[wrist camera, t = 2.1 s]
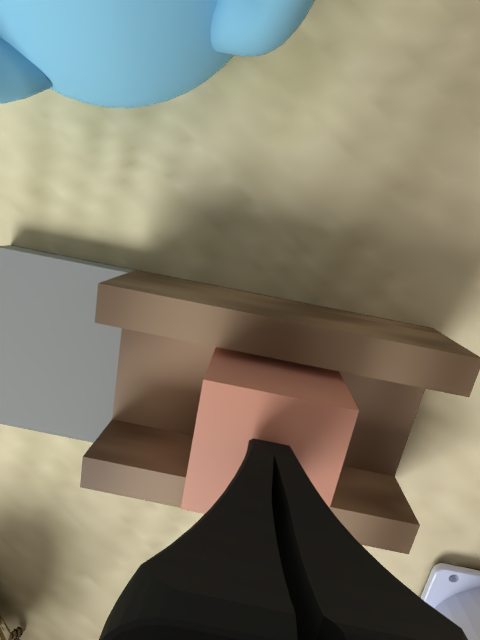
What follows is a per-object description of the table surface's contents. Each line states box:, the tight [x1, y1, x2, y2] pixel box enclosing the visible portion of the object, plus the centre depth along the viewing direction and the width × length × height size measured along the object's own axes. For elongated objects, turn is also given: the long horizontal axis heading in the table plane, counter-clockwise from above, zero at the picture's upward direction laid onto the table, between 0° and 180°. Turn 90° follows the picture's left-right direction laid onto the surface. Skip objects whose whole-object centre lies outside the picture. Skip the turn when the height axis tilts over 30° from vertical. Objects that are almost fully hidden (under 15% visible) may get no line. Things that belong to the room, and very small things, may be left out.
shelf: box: [0, 245, 134, 443], centre depth 18 cm, size 6×9×1 cm
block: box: [181, 347, 359, 514], centre depth 15 cm, size 5×5×5 cm
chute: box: [80, 270, 480, 554], centre depth 16 cm, size 14×9×4 cm, turn 80°
